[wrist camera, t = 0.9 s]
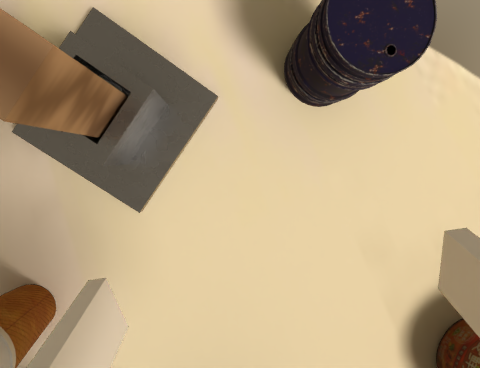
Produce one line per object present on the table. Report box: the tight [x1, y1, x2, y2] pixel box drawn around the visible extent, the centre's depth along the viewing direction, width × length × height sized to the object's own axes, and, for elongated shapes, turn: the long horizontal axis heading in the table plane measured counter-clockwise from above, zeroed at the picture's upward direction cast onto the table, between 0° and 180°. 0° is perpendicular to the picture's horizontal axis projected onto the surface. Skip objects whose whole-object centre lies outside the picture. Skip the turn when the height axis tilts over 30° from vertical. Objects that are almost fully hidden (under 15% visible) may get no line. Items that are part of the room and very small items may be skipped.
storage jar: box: [284, 0, 437, 107], centre depth 31 cm, size 10×10×15 cm
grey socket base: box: [12, 7, 218, 213], centre depth 32 cm, size 18×18×10 cm
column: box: [0, 9, 129, 138], centre depth 25 cm, size 5×5×20 cm
